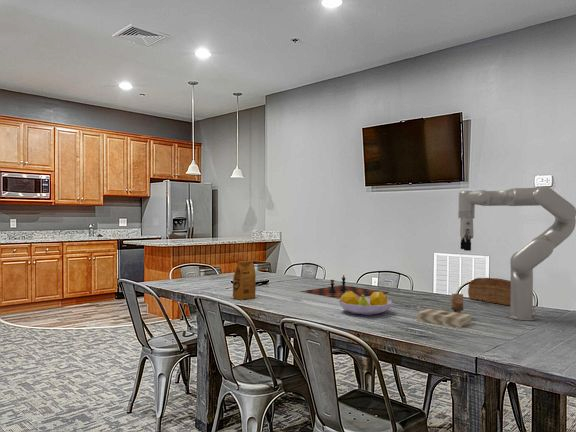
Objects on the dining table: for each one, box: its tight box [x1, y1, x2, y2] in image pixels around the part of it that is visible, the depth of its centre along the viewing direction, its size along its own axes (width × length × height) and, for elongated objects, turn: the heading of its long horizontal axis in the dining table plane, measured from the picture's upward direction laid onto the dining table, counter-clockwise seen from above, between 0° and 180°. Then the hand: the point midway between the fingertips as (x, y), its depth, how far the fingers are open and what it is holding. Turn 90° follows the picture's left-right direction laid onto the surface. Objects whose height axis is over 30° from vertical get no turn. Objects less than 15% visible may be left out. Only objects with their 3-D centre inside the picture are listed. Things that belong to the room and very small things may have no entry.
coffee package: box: [232, 260, 257, 301], centre depth 274 cm, size 10×12×22 cm
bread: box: [467, 277, 511, 307], centre depth 265 cm, size 12×31×14 cm, turn 34°
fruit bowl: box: [337, 291, 392, 316], centre depth 234 cm, size 28×27×11 cm
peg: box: [450, 293, 464, 313], centre depth 223 cm, size 5×5×11 cm
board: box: [416, 308, 472, 329], centre depth 213 cm, size 20×12×4 cm, turn 46°
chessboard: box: [299, 275, 389, 300], centre depth 299 cm, size 40×40×11 cm
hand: (465, 249), depth 234 cm, fingers open, 9 cm apart
